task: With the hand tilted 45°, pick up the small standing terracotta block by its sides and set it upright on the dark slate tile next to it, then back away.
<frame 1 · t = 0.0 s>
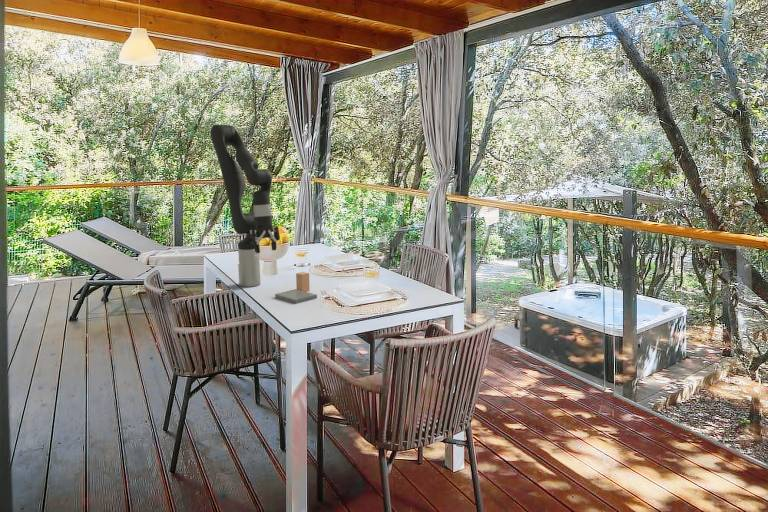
hand: (266, 251, 242), 17 cm above the table, fingers open, 8 cm apart
slate tile: (296, 297, 230), on the table
terracotta block: (303, 290, 241), on the table
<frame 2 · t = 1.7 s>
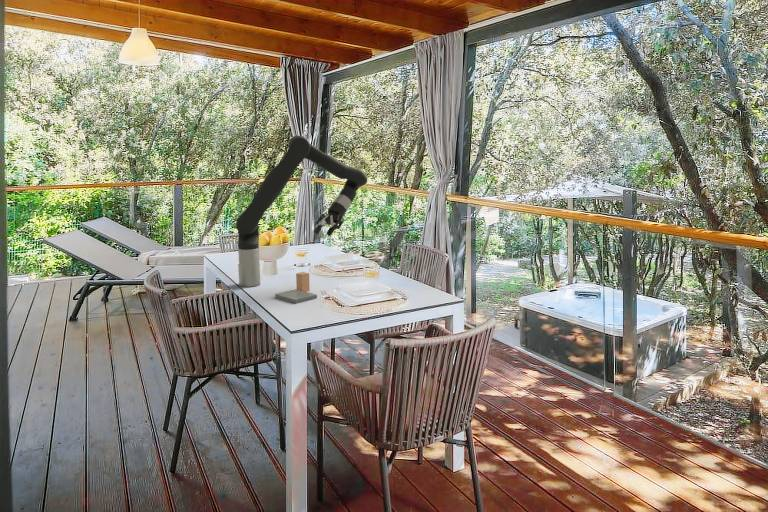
hand: (321, 234, 245), 24 cm above the table, fingers open, 8 cm apart
nothing on the table moved.
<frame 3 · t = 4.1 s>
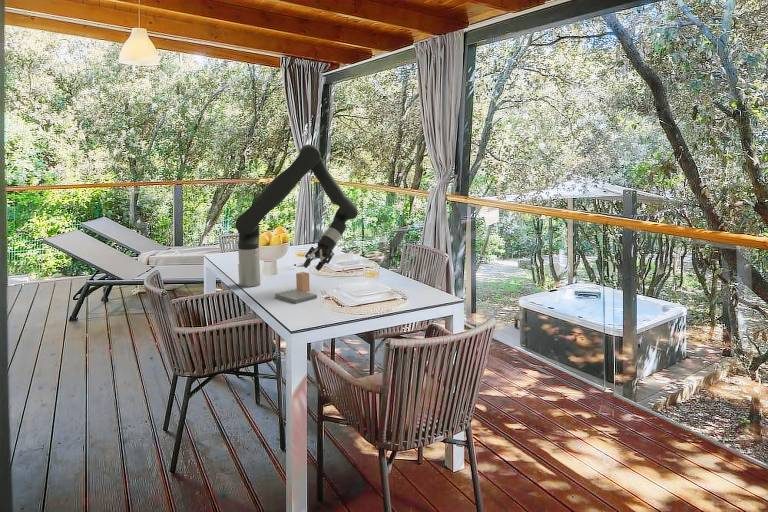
hand: (310, 268, 243), 9 cm above the table, fingers open, 8 cm apart
nothing on the table moved.
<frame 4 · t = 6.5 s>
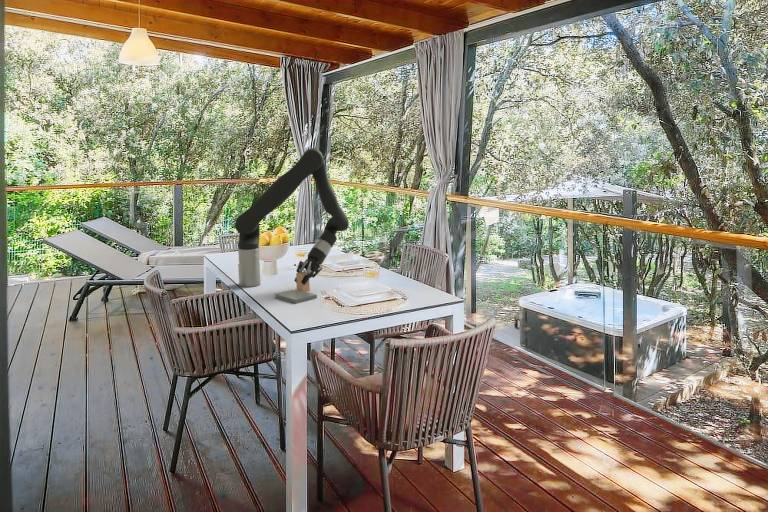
hand: (299, 282, 239), 4 cm above the table, fingers closed on terracotta block, 4 cm apart
terracotta block: (303, 290, 241), on the table, touching gripper
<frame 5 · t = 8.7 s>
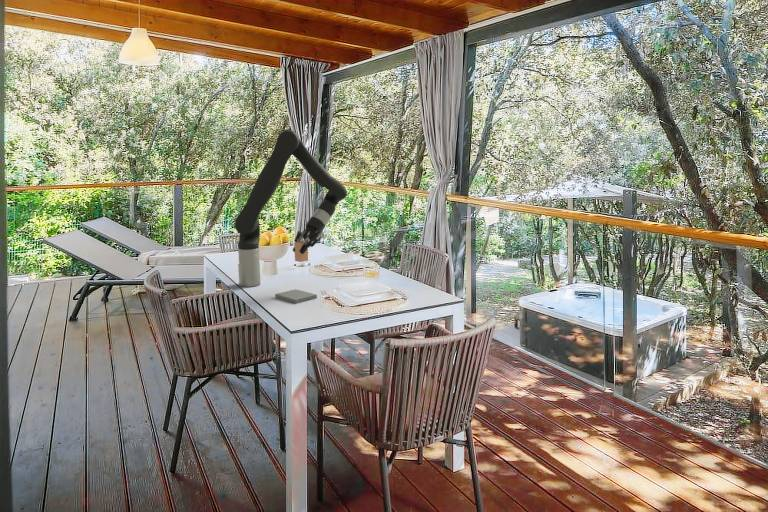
hand: (297, 252, 235), 18 cm above the table, fingers closed on terracotta block, 4 cm apart
terracotta block: (301, 260, 237), point 14 cm above the table, touching gripper
when the fingers open (6 cm above the table, at t = 11.3 s): terracotta block stays where it is, resting on slate tile.
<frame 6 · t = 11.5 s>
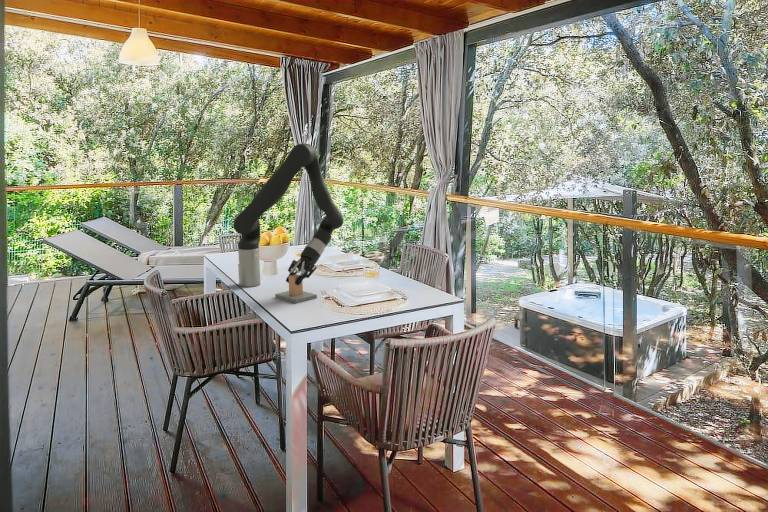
hand: (292, 283, 227), 7 cm above the table, fingers open, 5 cm apart
terracotta block: (296, 294, 229), point 1 cm above the table, touching slate tile
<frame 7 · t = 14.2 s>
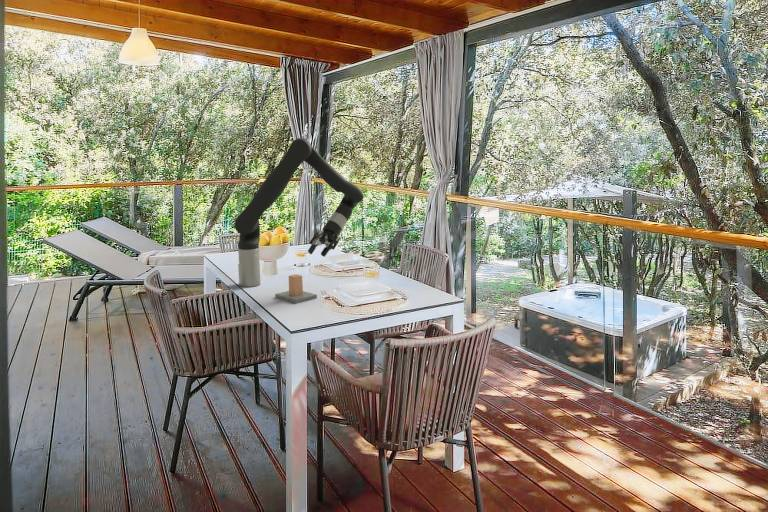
hand: (315, 254, 235), 17 cm above the table, fingers open, 8 cm apart
nothing on the table moved.
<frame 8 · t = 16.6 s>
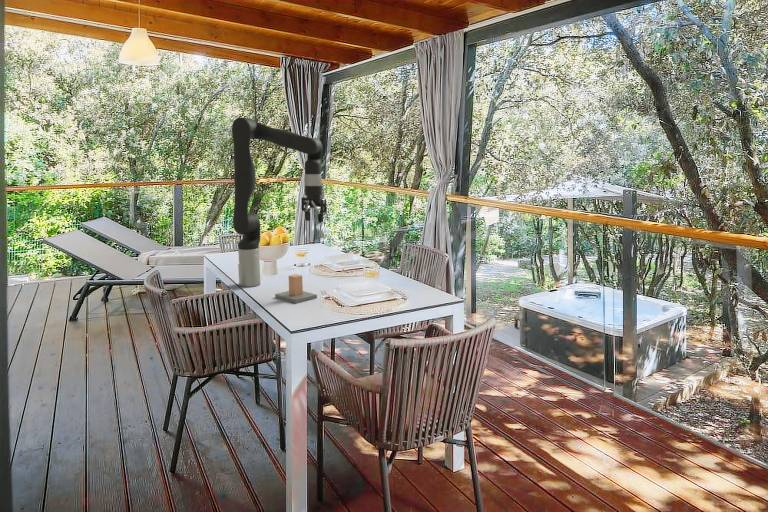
hand: (314, 221, 241), 30 cm above the table, fingers open, 8 cm apart
nothing on the table moved.
at the end: terracotta block inside the target area on the slate tile (0.1 cm from its centre), point 1.5 cm above the slate tile's base; terracotta block tilted 0°; the gripper is holding nothing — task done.
